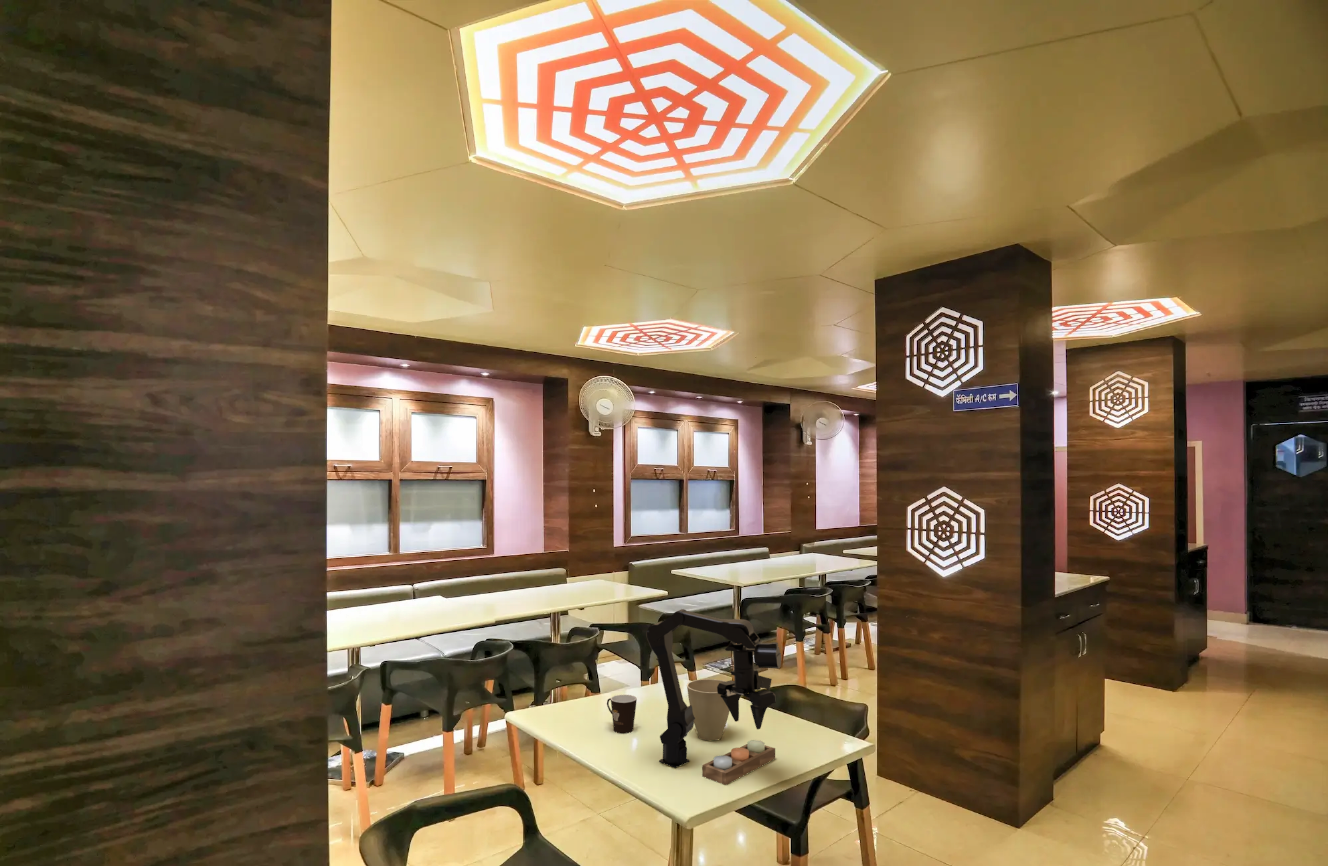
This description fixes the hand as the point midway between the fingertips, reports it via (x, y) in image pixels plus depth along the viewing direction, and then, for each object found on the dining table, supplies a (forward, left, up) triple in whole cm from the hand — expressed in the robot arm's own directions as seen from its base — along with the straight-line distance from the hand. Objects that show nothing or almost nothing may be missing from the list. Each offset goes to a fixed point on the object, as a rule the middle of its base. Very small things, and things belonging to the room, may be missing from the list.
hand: (747, 725), depth 182 cm
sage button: (-4, +10, -12) cm, 16 cm away
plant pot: (-25, +15, -13) cm, 33 cm away
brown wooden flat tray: (-4, +2, -13) cm, 14 cm away
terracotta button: (-4, +2, -12) cm, 13 cm away
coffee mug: (-51, +1, -13) cm, 53 cm away
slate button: (-4, -6, -12) cm, 14 cm away
